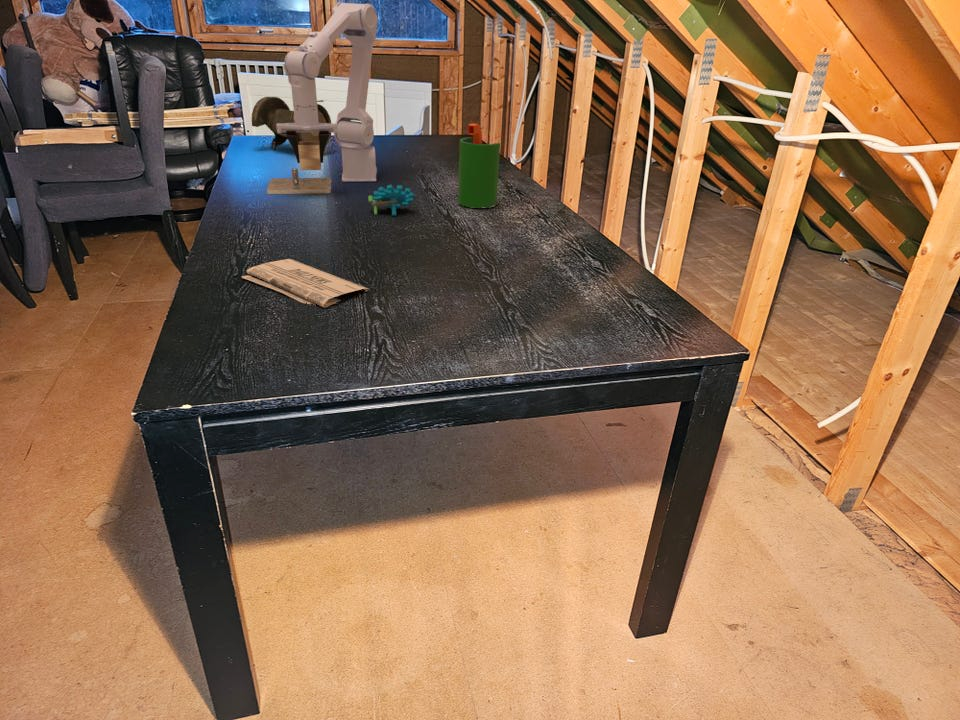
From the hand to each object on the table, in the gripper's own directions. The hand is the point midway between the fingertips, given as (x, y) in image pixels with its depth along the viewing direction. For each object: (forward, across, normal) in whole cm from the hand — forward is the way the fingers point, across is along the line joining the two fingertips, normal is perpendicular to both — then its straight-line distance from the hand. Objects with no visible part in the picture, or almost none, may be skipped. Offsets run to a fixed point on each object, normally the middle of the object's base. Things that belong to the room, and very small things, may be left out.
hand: (310, 162), depth 166 cm
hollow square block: (+1, 0, 0) cm, 1 cm away
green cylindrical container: (+9, +41, -11) cm, 44 cm away
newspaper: (+9, 0, -60) cm, 61 cm away
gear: (+9, +19, -17) cm, 27 cm away
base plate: (+8, -4, +7) cm, 12 cm away
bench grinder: (+9, -5, +51) cm, 52 cm away
